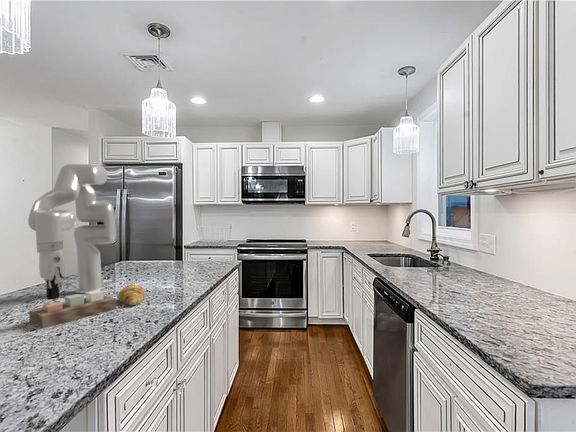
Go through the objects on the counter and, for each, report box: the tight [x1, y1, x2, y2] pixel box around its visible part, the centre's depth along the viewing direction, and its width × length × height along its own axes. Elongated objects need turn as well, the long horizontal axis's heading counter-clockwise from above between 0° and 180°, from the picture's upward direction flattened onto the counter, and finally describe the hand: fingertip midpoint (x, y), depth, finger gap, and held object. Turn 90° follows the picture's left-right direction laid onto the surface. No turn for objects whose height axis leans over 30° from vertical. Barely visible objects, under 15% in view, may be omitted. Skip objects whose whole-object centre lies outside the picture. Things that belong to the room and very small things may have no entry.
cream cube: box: [84, 290, 105, 302], centre depth 127 cm, size 4×4×4 cm
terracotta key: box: [42, 301, 63, 313], centre depth 115 cm, size 4×4×4 cm
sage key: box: [64, 293, 85, 307], centre depth 121 cm, size 4×4×4 cm
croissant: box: [117, 283, 146, 306], centre depth 138 cm, size 21×10×8 cm, turn 30°
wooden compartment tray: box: [28, 295, 117, 329], centre depth 121 cm, size 24×12×4 cm, turn 145°
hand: (53, 298), depth 116 cm, fingers closed
